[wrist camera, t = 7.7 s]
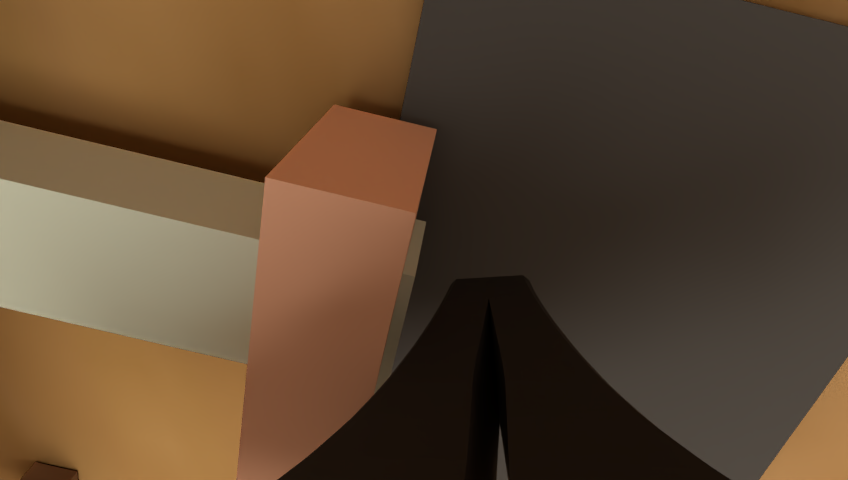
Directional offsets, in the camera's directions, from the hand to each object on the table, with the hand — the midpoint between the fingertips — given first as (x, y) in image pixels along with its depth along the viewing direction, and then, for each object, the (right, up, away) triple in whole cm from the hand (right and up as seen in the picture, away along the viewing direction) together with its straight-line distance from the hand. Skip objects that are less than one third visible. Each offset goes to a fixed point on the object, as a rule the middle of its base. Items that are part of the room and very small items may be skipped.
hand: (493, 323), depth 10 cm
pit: (+3, 0, +2) cm, 3 cm away
